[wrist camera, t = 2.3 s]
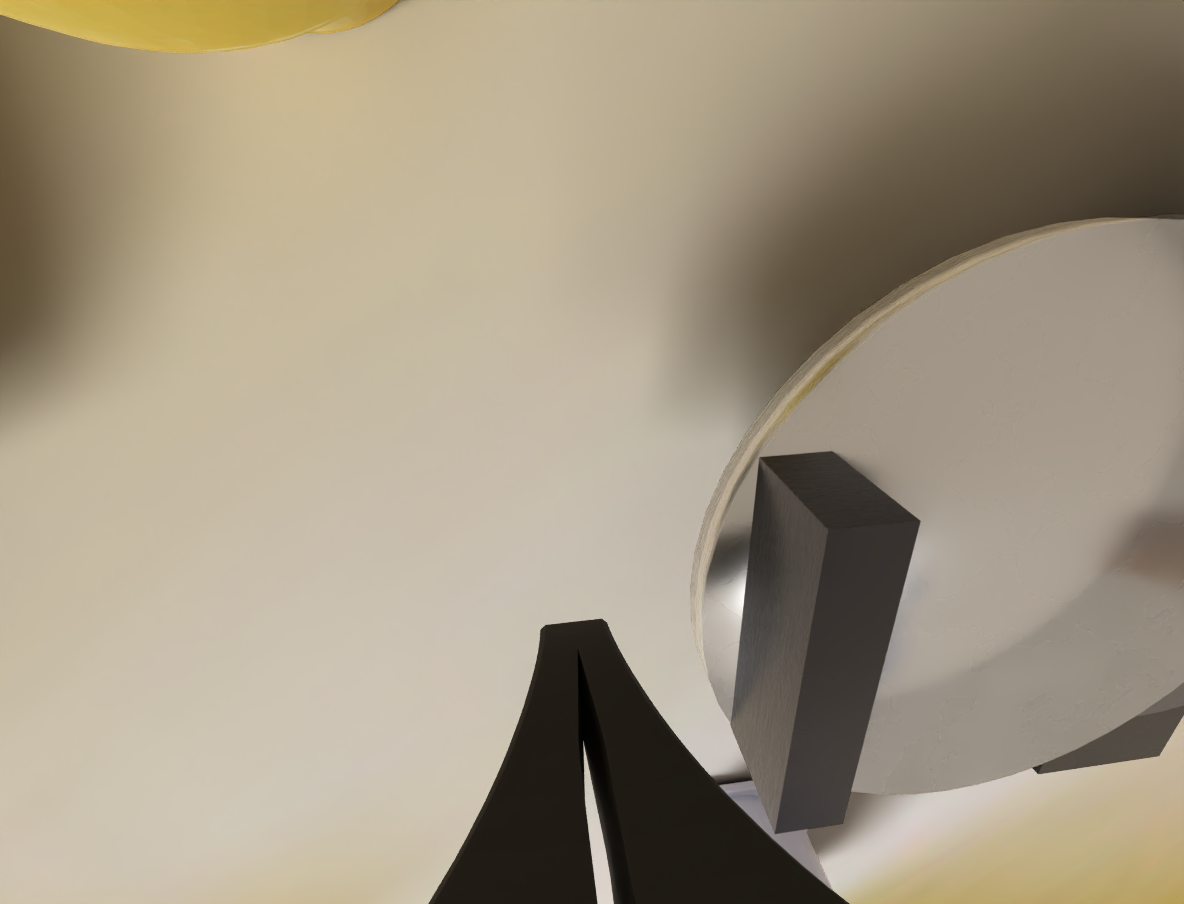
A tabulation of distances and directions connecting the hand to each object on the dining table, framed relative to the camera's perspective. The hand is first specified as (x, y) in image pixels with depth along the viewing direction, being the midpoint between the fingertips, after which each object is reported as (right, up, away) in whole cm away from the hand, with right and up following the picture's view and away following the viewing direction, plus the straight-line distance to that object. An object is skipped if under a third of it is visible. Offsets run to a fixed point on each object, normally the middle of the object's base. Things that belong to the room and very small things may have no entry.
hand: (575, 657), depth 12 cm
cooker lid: (+11, +2, +3) cm, 12 cm away
